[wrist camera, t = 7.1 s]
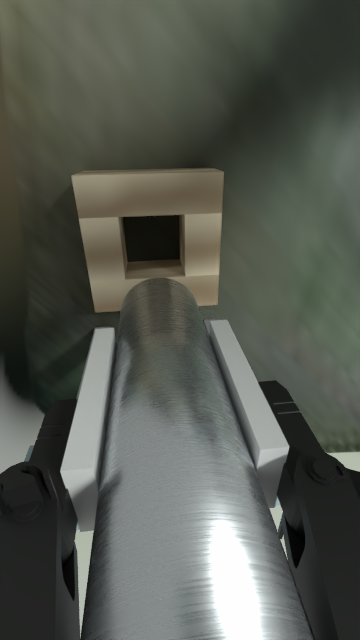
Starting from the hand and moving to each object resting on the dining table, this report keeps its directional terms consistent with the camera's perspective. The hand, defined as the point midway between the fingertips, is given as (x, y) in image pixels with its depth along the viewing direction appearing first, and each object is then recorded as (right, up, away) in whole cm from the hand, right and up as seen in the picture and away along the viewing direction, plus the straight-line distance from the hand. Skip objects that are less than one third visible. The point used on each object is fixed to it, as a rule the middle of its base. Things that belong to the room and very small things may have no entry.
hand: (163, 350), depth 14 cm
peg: (0, +2, +3) cm, 4 cm away
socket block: (-2, +10, +18) cm, 21 cm away
